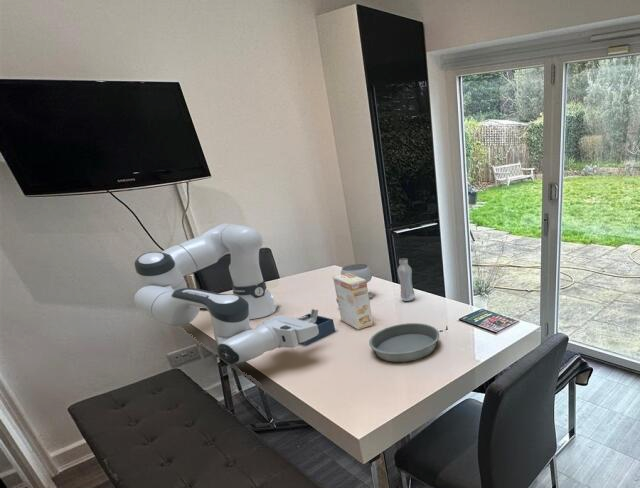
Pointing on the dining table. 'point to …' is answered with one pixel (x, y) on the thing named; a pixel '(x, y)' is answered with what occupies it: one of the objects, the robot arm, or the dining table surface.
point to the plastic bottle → (405, 280)
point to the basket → (321, 328)
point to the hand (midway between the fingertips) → (311, 318)
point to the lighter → (313, 314)
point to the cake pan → (404, 342)
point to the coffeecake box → (353, 300)
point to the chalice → (359, 272)
